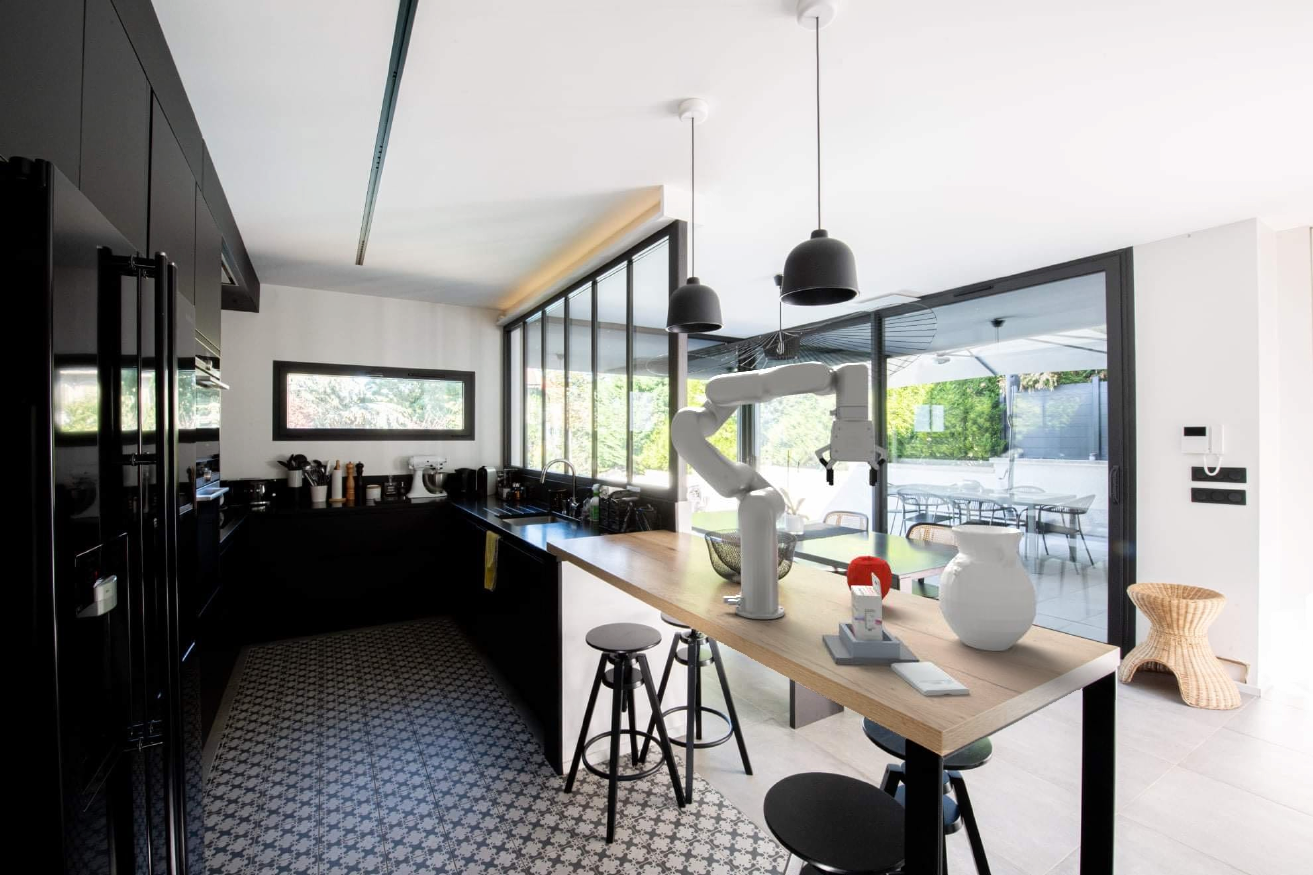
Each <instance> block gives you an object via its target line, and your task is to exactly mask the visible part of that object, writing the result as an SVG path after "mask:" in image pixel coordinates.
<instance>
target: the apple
mask: <svg viewBox="0 0 1313 875" xmlns="http://www.w3.org/2000/svg"><path fill="white" fill-rule="evenodd" d="M872 573H873V574H874V575H875V576H876V577H877V578H878V579H879V580H880V586H881V596H882V601H883V600H884V599H885V597H886V596H887V595H888V594H889V592H890V589H891V587H892V582H893V581H892V580H893V574H892V569H891V566H890V564H889V563H888V562H887V561H886V560H884V559H882V558H880V557H877V556H873V555H862V556H861V555H860V556H857V557H855V558H853V559H852V560H851V561H850V563H849V564H848V567H847V570H846V583H847V586H848V590H849V591H850V592H851V586H873V582H872ZM875 583H876V585H877V582H876V581H875Z"/></svg>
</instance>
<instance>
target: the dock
mask: <svg viewBox="0 0 1313 875" xmlns="http://www.w3.org/2000/svg"><path fill="white" fill-rule="evenodd" d="M882 639H883V641H859V640H856V638H855V637H854V636H853V634H852V622H845V621H843V622H839V621H838V635H836V634H822V637H821V640H822V642H823V644H824V646H825V647H826V649H827V651H828V652H829V655H830V656H831V657H832V659H833V661H834V663H835V664H836V665H837V664H838V665H839V664H840V665H868V666H871V665H872V666H876V665H877V666H891V664H893V663H916V662H920V659H919V658H918V657H917V656H916V655H915V654H914V653H913V651H912V650H910V649H909V647H908V646H907V645H906V644H905V643H904V642H903V640H901V639H900V638H899V637H898V636H897V635H896V636H894V635H893V634H892V633H891V632H890V631H889V629H887V628H886V627H885V626H884V625H883V624H882Z"/></svg>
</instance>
